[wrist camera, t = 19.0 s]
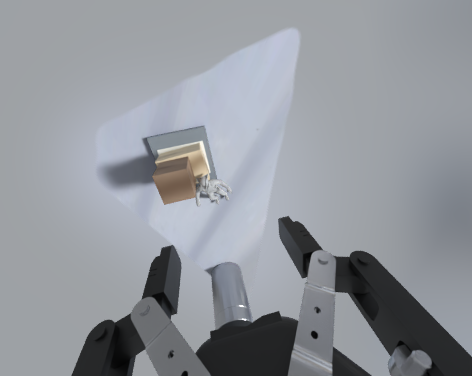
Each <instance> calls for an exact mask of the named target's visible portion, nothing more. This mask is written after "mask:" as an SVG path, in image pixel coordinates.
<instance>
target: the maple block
mask: <svg viewBox="0 0 472 376" xmlns="http://www.w3.org/2000/svg"><path fill="white" fill-rule="evenodd" d="M187 156H188V157H189V160H190V163H191V167H192V170H193V173H194V176H195V180H196V183H199V182H197V179H196V178H200V177H202V176H205V175H206V174H208V180H210V176H209V169H208V166H207V163H206V160H205V157H204V154H203V151H202V148H201V145H200V143H197V144H193V145H190V146H186V147H183V148H179V149H176V150H172V151H168V152H165V153H161V154H160V155H159V156H158V158H157V160H156V161H155V164H156V166H157V167H158V165H159V163H160V162H164V161H169V160H174V159H178V158H183V157H187Z"/></svg>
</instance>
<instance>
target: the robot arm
mask: <svg viewBox="0 0 472 376" xmlns="http://www.w3.org/2000/svg"><path fill="white" fill-rule="evenodd" d="M278 222H279V235H280V239H281V241H282V243H283V245H284V246H285V248H286V250H287V252H288V254H289V255H290V257H291V259H292V260H293V263H294V264H295V266H296V268H297V270H298V271H299V273H300V275H301V277H302V278H306V277H307V282H306V283H305V288H304V294H303V299H302V304H301V310H300V315H299V321H297V320H295V319H293V318H289V317H281V315H280V313H279V311H278V312H274V313H271V314H267V315H264V316H262V317H260V318H259V319H257V320H256V321H254V322H253V319H252V314H251V311H250V307H249V302H248V298H247V294H246V290H245V286H244V281H243V277H242V273H241V269H240V267H239V265H237V264H236V263H232V262H225V263H222V264H219V265H217V266H216V267H215V268H214V269H213V271H212V273H211V276H212V290H213V304H214V317H215V330H214V331H211V332H210V335H211V338H210V339H208V340H207V341H206V342H204V343H203V344H202V345H201V347H200V348H199V349H198V350H197V352H196V353H194V351H193V350H192V349H191V347H190V346H189V345H188V343H187V342H186V341H185V339H184V338H183V336H182V335H181V334H180V332H179V331H178V329H177V328H176V327H175V325H174V324H173V323H172V321H171V315H174V314H177V307H178V297H179V286H180V275H181V261H180V258H179V256H178V254H177V251H176V249H175V247H174V246H173V245H171V246H167V247H163V248H162V250H161V254H160V256H158V257H156V258H155V259H154V260H153V262H152V263H151V267H150V270H149V271H150V272H149V275H148V278H147V282H146V285H145V289H144V293H143V296H142V300H141V301H139V302H138V303H137V304H136V306H135V307H134V308H133V310H132V312H131V314H129V315H127V316H126V317H124V318H122V319H121V320H119V321H117V322H115V323H114V322H113V321H112V320H105V321H103V322H101V323H99V324H98V325H97V326H96V327H95V328H94V329H93V330H92V331H91V332H90V333H89V335H88V337H87V339H86V341H85V344H84V346H83V349H82V351H81V353H80V356H79V358H78V361H77V363H76V366H75V368H74V371H73V373H72V376H132V373H133V367H134V362H135V357H136V355H137V354H139V353H140V352H141V351H143V350H146V352H147V354H148V356H149V358H150V360H151V362H152V363H153V366H154V368H155V369H156V371H157V373H158V375H159V376H371V375H370V374H369V373H367V372H366V371H365V370H363V369H362V368H361V367H359V366H358V365H357V364H355V363H354V362H353V361H351V360H350V359H349V358H347V357H346V356H345V355H344V354H342V353H341V352H340V351H338V350H337V349H335V348H334V347H333V334H334V312H335V292H345V293H348V294H349V295H350V297H351V298H352V300H353V301H354V303H355V304H356V306H357V307H358V309H359V310H360V312H361V313H362V315H363V316H364V318H365V319H366V321H367V322H368V324H369V325H370V326H371V328H372V329H373V331H374V332H375V334H376V335H377V337H378V338H379V340H380V341H381V343H382V344H383V345H384V347H385V349H386V350H387V352H388V353H389V355H390V356H391V357H390V359H389V361H388V369H389V372H390V375H391V376H472V357H471V356H470V355H469V354H468V353H467V352H466V351H465V349H464V348H463V347H462V346H461V345H460V344H459V343H458V342H457V341H456V340H455V339H454V338H453V337H452V336H451V335H450V334H449V333H448V332H447V331H446V330H445V329H444V328H443V327H442V326H441V325H440V324H439V323H438V322H437V321H436V320H435V319H434V318H433V317H432V316H431V315H430V314H429V313H428V312H427V311H426V310H425V309H424V308H423V307H422V306H421V305H420V303H419V302H418V301H417V300H416V299H415V298H414V297H413V296H412V295H411V294H410V293H409V292H408V291H407V290H406V289H405V288H404V287H403V286H402V285H401V284H400V283H399V282H398V281H397V280H396V279H395V278H394V277H393V276H392V275H391V274H390V273H389V272H388V271H387V270H386V269H385V268H384V267H383V266H382V265H381V264H380V263H379V262H378V260H377V259H376V258H375V257H373V256H372V255H371V254H369V253H367V252H363V251H354V252H352V253H351V254H350V257H336V256H333V255H332V254H331V253H328V252H327V251H323V249H322V248H321V247H320V246H319V244H318V243H317V242H316V241H315V239H314V238H313V237H312V236H311V235H310V233H309V232H308V231H307V229H306V228H305V227H304V225H303V224H301V223H299V222H298V221H295V222H293V221H292V220H291V219H290V218H289V216H287V217H283V218H279V219H278Z"/></svg>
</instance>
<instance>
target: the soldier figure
mask: <svg viewBox="0 0 472 376" xmlns="http://www.w3.org/2000/svg"><path fill="white" fill-rule="evenodd" d="M196 179H197V182H199V183H200V185H199V186H198V187H197V190H196V203H197V206H200V205H201V204H200V202H199V197H200V192H201V191H204V192H206V193H207V194H208V196H209V198H210V200H212V201H214V200H216V203H217V204H219V199H218V196H214V192H216V193H218V194H220V195H223V196H224V195H225V198H226V200H229V197H228V195H227V192H228V191H229V192H230V194H231V193H232V190H231V188H230V187H229V186H228V185H227V184H225V183H224V182H223V181H221V180H217V179H211V180H208V174H206V175H205V176H202V177H200V178H196ZM217 184H220V185H222V186H223V187H225V188H227V192H225V191H224V190H222V189H221V188H220V187H219V186H218V185H217Z"/></svg>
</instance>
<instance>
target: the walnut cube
mask: <svg viewBox="0 0 472 376" xmlns="http://www.w3.org/2000/svg"><path fill="white" fill-rule="evenodd" d="M152 177H153V180H154V182H155V184H156V187H157V189H158V191H159V194H160V196H161V198H162V200H163V203H164V205H165V204H169V203H174V202H178V201H182V200H186V199H191V198H195V197H196V180H195V176H194V173H193V170H192V167H191V163H190V160H189V157H188V156H187V157H183V158H178V159H174V160H169V161H164V162H160V163H159V165H158V167H157V168H156V170H155V172H154V174H153V176H152Z"/></svg>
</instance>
